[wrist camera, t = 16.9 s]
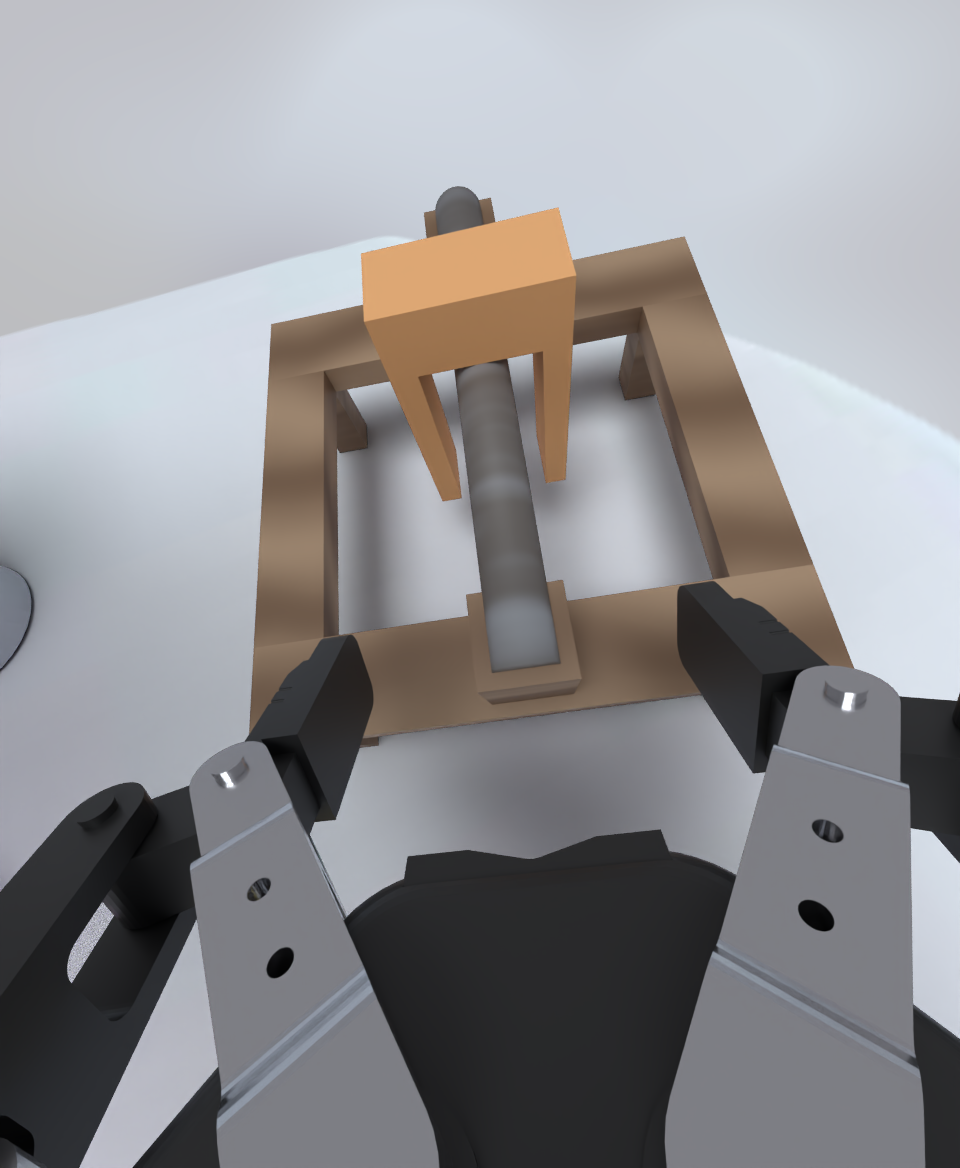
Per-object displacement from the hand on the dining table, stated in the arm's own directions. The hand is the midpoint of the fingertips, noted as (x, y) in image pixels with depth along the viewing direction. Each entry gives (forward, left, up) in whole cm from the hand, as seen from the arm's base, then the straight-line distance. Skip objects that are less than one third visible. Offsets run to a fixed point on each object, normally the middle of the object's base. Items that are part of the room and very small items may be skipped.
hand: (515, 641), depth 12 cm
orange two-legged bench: (-9, +7, -10) cm, 15 cm away
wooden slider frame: (-8, +6, -15) cm, 18 cm away
